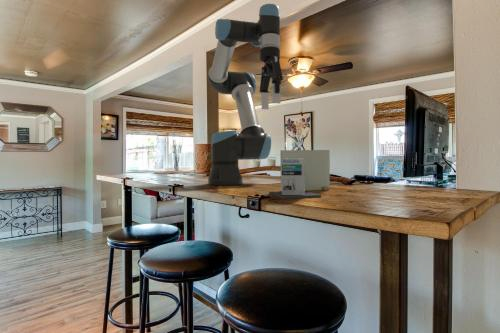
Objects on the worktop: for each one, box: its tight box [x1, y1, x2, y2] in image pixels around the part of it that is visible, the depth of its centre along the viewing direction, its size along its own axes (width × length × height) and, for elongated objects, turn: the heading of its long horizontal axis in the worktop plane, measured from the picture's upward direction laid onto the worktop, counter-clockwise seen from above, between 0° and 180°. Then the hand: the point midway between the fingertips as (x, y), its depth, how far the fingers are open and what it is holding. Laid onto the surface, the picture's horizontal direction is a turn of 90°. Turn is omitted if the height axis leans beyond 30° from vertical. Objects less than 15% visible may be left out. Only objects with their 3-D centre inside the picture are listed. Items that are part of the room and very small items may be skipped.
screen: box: [279, 149, 331, 191], centre depth 101 cm, size 4×18×14 cm, turn 104°
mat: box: [268, 190, 322, 200], centre depth 89 cm, size 12×12×1 cm
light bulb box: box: [280, 158, 306, 195], centre depth 89 cm, size 11×7×11 cm, turn 170°
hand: (270, 106), depth 109 cm, fingers open, 13 cm apart
